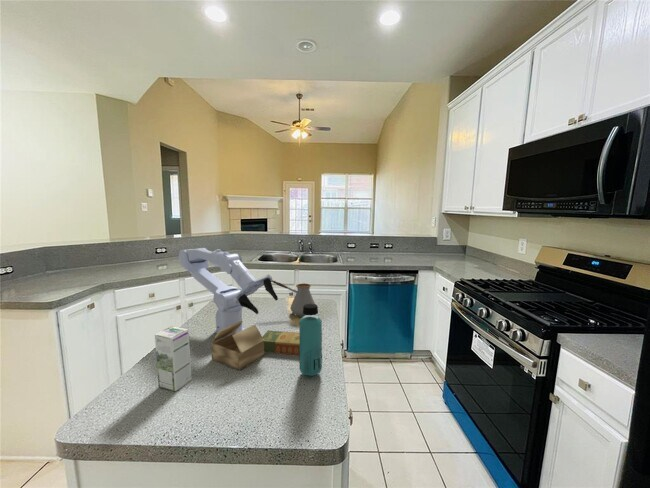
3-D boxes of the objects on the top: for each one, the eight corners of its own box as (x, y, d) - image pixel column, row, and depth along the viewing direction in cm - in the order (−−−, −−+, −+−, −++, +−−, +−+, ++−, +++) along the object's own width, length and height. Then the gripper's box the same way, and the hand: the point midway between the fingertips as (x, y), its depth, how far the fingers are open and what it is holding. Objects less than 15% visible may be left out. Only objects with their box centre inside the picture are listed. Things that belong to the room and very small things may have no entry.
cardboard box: (211, 359, 87) (211, 343, 87) (237, 346, 96) (236, 331, 95) (240, 370, 81) (239, 354, 81) (264, 355, 90) (263, 340, 89)
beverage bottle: (313, 384, 75) (314, 311, 73) (293, 376, 79) (293, 306, 76) (326, 372, 81) (327, 304, 78) (307, 365, 84) (307, 299, 82)
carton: (306, 357, 90) (306, 344, 89) (258, 352, 93) (257, 339, 92) (312, 344, 98) (312, 332, 97) (267, 340, 101) (267, 329, 100)
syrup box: (192, 379, 77) (189, 328, 75) (174, 392, 71) (171, 337, 70) (176, 375, 79) (173, 325, 77) (157, 388, 73) (153, 333, 71)
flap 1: (212, 342, 87) (211, 341, 87) (235, 332, 95) (234, 330, 95) (220, 331, 85) (219, 330, 85) (242, 321, 92) (241, 320, 93)
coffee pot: (317, 309, 131) (318, 277, 130) (314, 319, 120) (314, 284, 118) (272, 307, 133) (272, 276, 132) (265, 316, 122) (264, 282, 120)
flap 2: (231, 335, 82) (232, 335, 82) (254, 325, 90) (255, 324, 90) (241, 353, 81) (242, 352, 81) (263, 340, 89) (264, 340, 88)
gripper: (223, 283, 93) (246, 313, 87) (260, 261, 100) (284, 286, 94) (227, 294, 98) (249, 322, 93) (262, 272, 105) (285, 297, 100)
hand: (267, 305), depth 94 cm, fingers open, 7 cm apart
